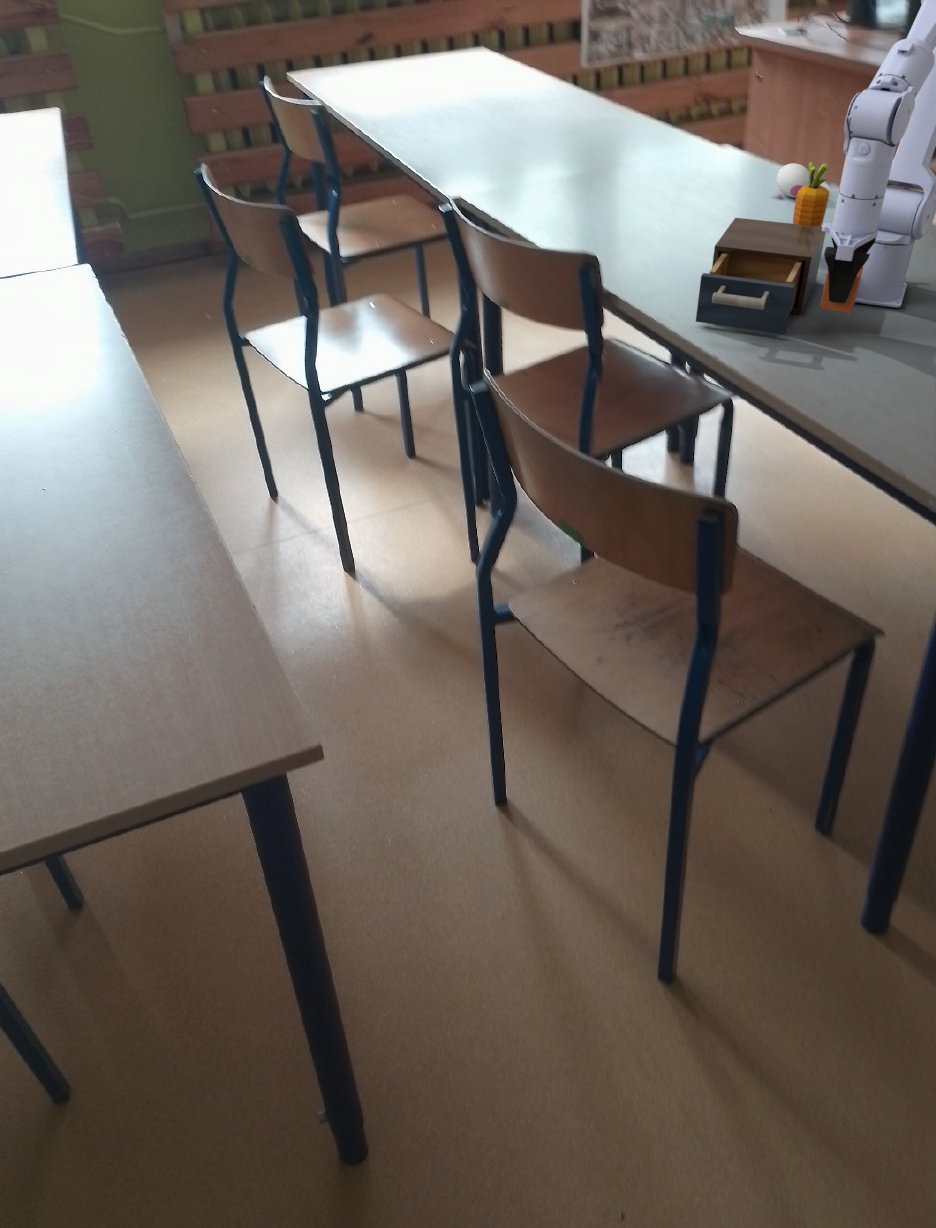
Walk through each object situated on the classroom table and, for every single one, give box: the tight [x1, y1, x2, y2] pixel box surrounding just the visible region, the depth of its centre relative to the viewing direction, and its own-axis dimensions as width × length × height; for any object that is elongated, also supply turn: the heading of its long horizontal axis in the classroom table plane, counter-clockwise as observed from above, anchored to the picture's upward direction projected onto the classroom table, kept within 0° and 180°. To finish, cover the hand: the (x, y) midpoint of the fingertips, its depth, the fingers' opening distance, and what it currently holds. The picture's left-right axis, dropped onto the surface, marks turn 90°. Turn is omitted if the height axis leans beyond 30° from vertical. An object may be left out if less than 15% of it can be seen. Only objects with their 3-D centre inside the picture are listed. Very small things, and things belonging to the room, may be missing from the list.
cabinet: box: [711, 217, 827, 315], centre depth 149 cm, size 13×14×8 cm
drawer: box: [695, 252, 804, 335], centre depth 140 cm, size 17×13×7 cm
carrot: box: [792, 161, 830, 227], centre depth 157 cm, size 5×5×15 cm
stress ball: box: [776, 162, 810, 199], centre depth 186 cm, size 8×8×7 cm
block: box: [819, 266, 863, 314], centre depth 136 cm, size 4×4×5 cm
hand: (839, 295), depth 137 cm, fingers closed on block, 4 cm apart
